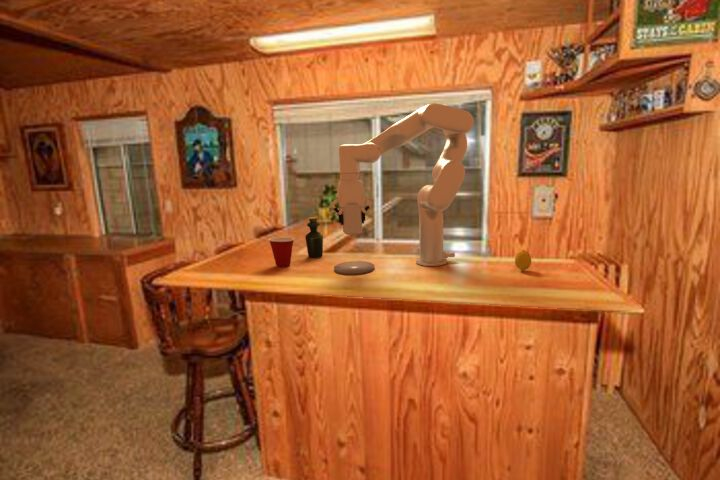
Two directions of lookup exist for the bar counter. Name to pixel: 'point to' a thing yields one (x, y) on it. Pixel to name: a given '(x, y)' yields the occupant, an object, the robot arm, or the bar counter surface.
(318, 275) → the bar counter surface
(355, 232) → the can
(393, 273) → the bar counter surface
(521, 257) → the lemon
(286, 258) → the plastic cup
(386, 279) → the bar counter surface
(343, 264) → the dish
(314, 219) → the potion bottle
